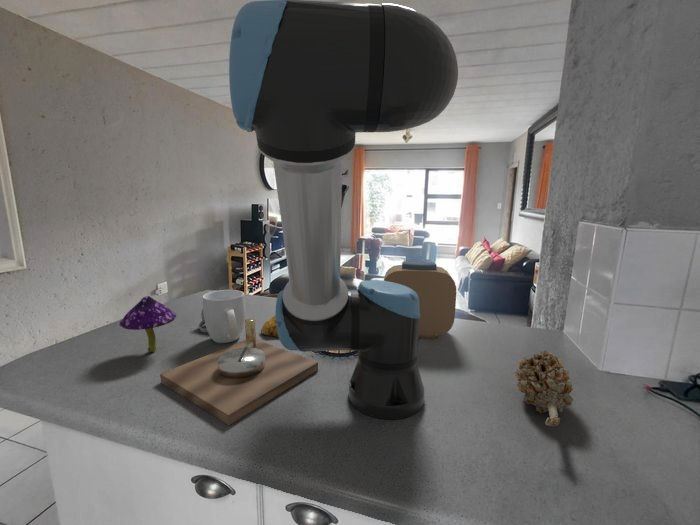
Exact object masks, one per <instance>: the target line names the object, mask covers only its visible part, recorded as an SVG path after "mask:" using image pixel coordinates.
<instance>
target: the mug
mask: <svg viewBox="0 0 700 525" xmlns="http://www.w3.org/2000/svg"><path fill="white" fill-rule="evenodd" d="M202 310H203V311H204V312H203V313H204V319H205V324H204V325H205V327H206V328H207V330H208V336H210V338H211V339H212V340H213V342H215V343H218V344H228V343H231V342H235V341H236V340H238V339H239V338H240V336H241V334H242V332H243V329H244V326H245V320H246V301H245V293H244V292H243V291H241V290H237V289H222V290H214V291H209V292H207V293H204V294H203V295H202Z"/></svg>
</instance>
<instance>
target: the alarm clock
mask: <svg viewBox="0 0 700 525" xmlns="http://www.w3.org/2000/svg"><path fill="white" fill-rule="evenodd" d="M383 281H388V282H393V283H397V284H401V285H404V286H406V287H409V288H411V289H412V290H414V291H415V292H416V293H417V295H418V297H419V310H420V318H419V328H418V339H419V338H420V339H421V338H422V339H437V336H442V335H445V334H446V333H448V332H449V331H450V330H451V329H452V328H453V325H454V323H455V318H456V317H455V316H456V308H457V307H456V306H457V305H456V304H457V286H456V282H455V280H454V278H452V276H451V275H450V273H449V272H448V271H447V269H445V268H444V267H442V266H437V264H436V262H429V261H402V262H401V264H399V265H393V266H391V267H390V268H388V270H387V271H386V272H385V274H384V277H383Z"/></svg>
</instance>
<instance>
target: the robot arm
mask: <svg viewBox="0 0 700 525" xmlns="http://www.w3.org/2000/svg"><path fill="white" fill-rule="evenodd" d="M231 30H232V31H231V35H230V36H231V37H230V44H229V57H228V61H229V62H228V76H229V79H228V80H229V94H230V104H231V110H232V114H233V117H234V119H235V121H236V125H237V126H238V127H239V129H241V130H243V131H246V132H248V133H252V132H253V131H254V132H255V137H256V143H257V149H258V150H259V152H260V154H262V155H263V156H264V157H266V158H267V159H269V160H270V161H271V162H272V163H273V169H274V170H273V172H274V176H275V184H276V190H277V193H276V194H277V200H278V206H279V207H278V208H279V214H280V221H281V230H282V237H283V242H284V243H283V244H284V251H285V258H286V266H287V274H288V279H289V280H288V282H287V283H286V284H285V286H284V288H283V289H282V290H281V291H279V293H278V294H277V297H276V302H275V311H274V312H275V314H274V316H275V315H276V322H277V332H278V336H279V337H278V340H279V342H280V344H281V345H282V347H284V349H286V350H287V351H296V352H297V351H298V352H302V353H307V352H326V351H328V352H329V351H330V352H337V351H357V361H356V364H355V366H354V369H353V372H352V374H351V377H350V380H349V382H348V383H349V384H348V398H349V401H350V403H351V405H352V407H354V408H355V409H357V410H358V411H359V412H361V413H363V414H365V415H368V416H370V417H372V418H378V419H382V420H397V419H398V420H399V419H404V418H408V417H410V416H414V415H415V414H416V413H418V412H419V411H420V410H421V409H422V408H423V406H424V402H425V386H424V383H423V379H422V376H421V373H420V370H419V366H418V347H419V346H418V345H419V338H418V328H419V318H420V310H419V297H418V295H417V293H416V292H415V291H414V290H412V289H411V288H409V287H406V286H404V285H401V284H397V283H393V282H388V281H384V280H380V279H369V280H367V279H365V280H363V281H360V282H359V284H358V286H357V289H353V288H352V289H349V288H348V286H347V283H346V282H345V281H344V280H343V279H342V278H341V253H342V252H341V251H342V250H341V249H342V248H341V247H342V207H343V205H344V204H343V203H344V201H345V200H344V199H345V195H346V193H347V192H348V191H349V188H350V187H349V185H348V184H345V183H344V182H343V181H342V180H343V160H345V158H347V157H348V156H349V155H350V154H352V153H353V151H354V150H355V148H356V133H393V132H398V131H404V130H409V129H413V128H417V127H419V126H422V125H424V124H427V123H429V122H431V121H432V120H434V119H435V118H438V116H440V115H441V114H442V112H444V111H445V109H446V108H447V107H448V105H449V104H450V103H451V100H452V99H453V97H454V95H455V92H456V89H457V86H458V80H459V64H458V59H457V55H456V52H455V50H454V47H453V44H452V43H451V41H450V39H449V38H448V36H447V35H446V33H445V32H444V31H443V29H441V27H439V25H438V24H436V22H434V21H433V20H431V19H430V18H429V17H427V16H426V15H425V14H423V13H421V12H419V11H417V10H415V9H413V8H412V7H411V8H410V7H407V6H403V5H399V4H396V3H384V2H383V3H381V4H377V3H360V2H359V3H358V2H357V3H356V2H340V1H339V2H338V1H337V2H336V1H323V0H322V1H319V0H255V1H254V0H253V1H250V2H247V3H245V4H244V5H243V6H241V7H240V9H239V10H238V12H237V14H236V16H235V18H234V22H233V25H232V29H231Z"/></svg>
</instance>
